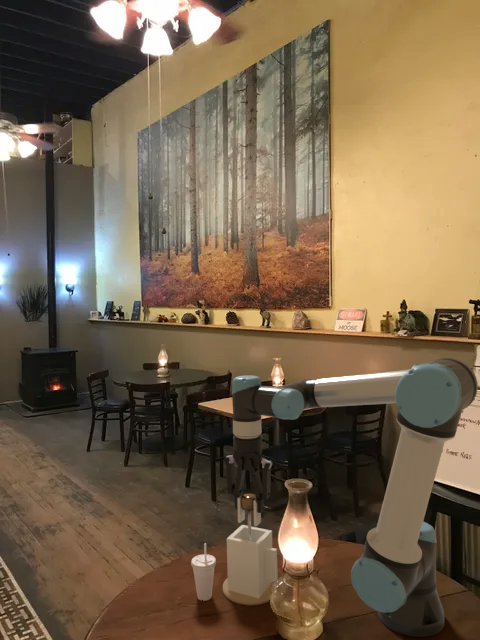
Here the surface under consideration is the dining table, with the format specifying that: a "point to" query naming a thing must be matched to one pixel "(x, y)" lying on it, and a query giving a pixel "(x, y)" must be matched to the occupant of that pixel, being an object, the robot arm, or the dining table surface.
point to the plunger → (248, 509)
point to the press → (250, 566)
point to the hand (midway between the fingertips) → (249, 522)
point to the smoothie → (203, 574)
